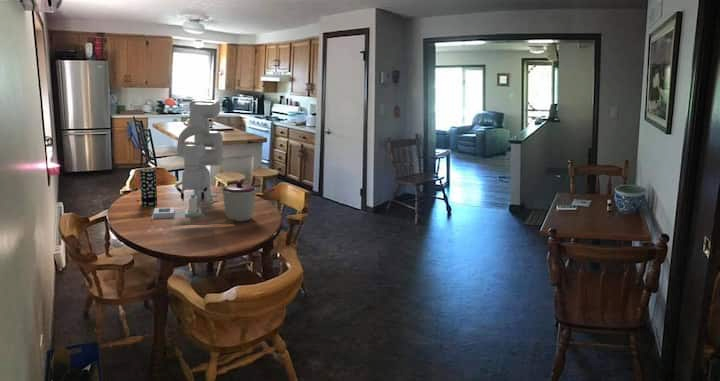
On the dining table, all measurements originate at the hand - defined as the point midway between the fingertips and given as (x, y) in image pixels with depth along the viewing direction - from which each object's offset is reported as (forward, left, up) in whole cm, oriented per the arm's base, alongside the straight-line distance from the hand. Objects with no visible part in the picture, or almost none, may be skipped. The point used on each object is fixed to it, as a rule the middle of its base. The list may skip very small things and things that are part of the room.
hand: (192, 200), depth 281 cm
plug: (0, 0, -8) cm, 8 cm away
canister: (-15, +20, -10) cm, 27 cm away
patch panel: (+6, -5, -9) cm, 12 cm away
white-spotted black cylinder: (+3, -38, -9) cm, 39 cm away
